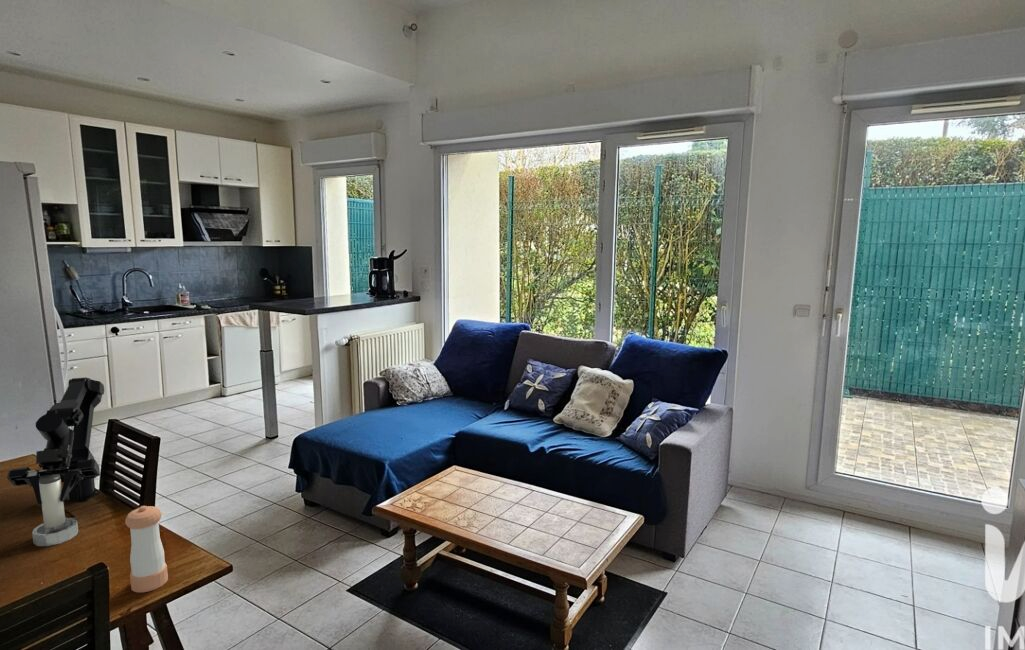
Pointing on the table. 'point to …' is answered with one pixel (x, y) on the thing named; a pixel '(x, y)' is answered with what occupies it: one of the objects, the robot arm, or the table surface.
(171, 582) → the table surface
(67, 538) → the collar
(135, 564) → the pepper shaker
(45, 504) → the peg
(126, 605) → the table surface
